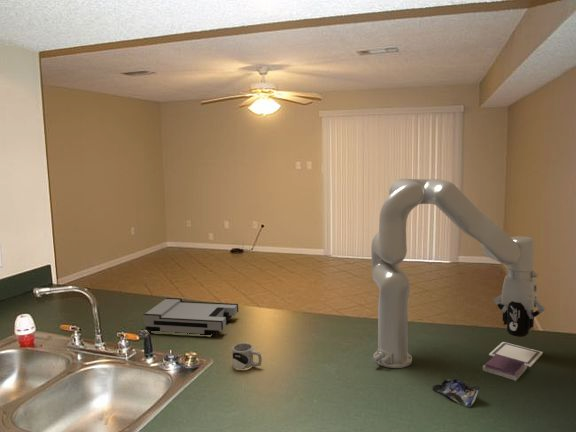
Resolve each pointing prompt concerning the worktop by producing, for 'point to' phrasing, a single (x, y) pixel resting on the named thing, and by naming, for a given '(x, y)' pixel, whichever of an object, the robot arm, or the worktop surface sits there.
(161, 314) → the game console
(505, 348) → the marked card
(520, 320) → the beverage can
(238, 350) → the mug
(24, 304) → the worktop surface
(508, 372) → the ink pad
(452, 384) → the snack package
